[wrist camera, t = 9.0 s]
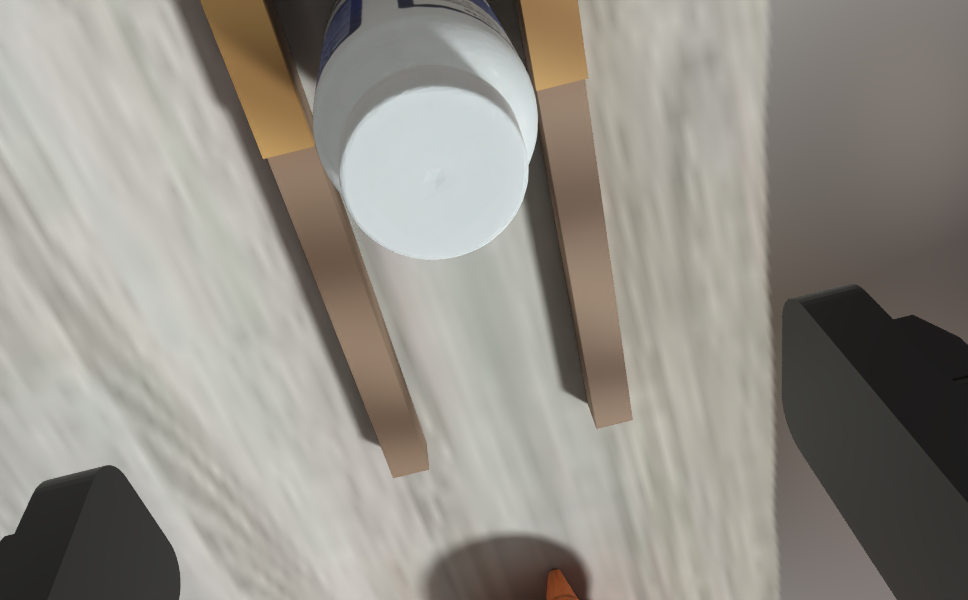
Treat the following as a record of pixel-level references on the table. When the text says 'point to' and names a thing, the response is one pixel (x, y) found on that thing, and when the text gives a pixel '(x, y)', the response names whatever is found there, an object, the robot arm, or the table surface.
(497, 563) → the table surface
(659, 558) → the table surface
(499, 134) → the pill bottle
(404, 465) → the guide channel
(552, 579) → the pot
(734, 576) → the table surface
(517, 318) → the table surface
